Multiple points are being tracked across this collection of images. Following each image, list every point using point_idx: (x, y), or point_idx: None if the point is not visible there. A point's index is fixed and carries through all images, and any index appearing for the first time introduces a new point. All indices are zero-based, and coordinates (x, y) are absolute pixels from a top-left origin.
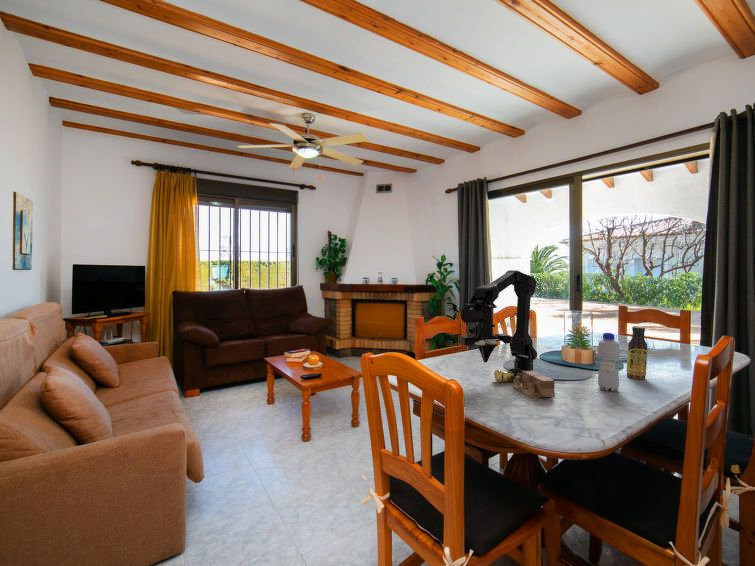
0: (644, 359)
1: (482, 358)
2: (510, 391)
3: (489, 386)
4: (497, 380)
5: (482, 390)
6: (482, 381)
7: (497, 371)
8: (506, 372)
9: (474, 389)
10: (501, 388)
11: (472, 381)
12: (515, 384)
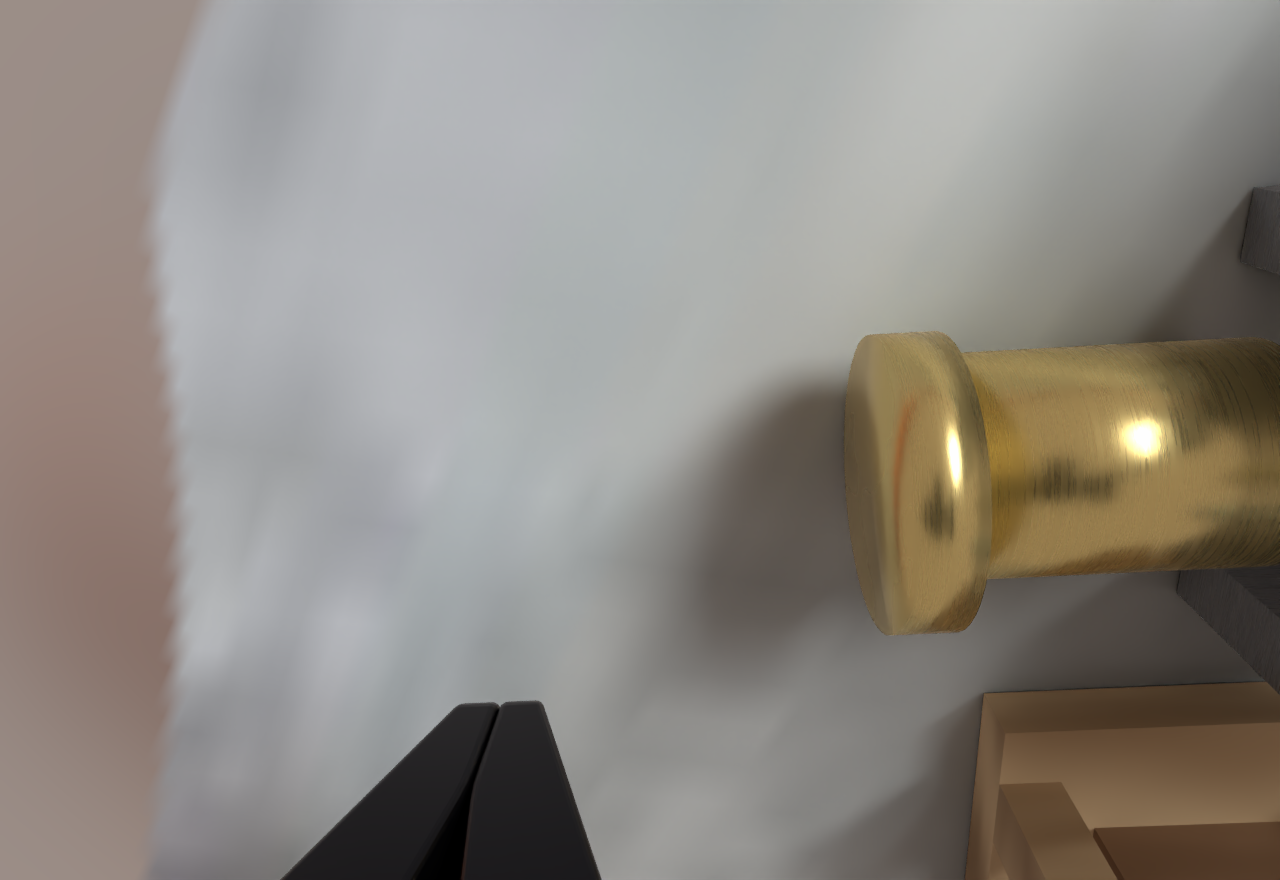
0: None
1: (386, 781)
2: (797, 859)
3: (574, 615)
4: (850, 449)
5: (378, 765)
6: (562, 313)
7: (902, 545)
8: (1137, 539)
9: (258, 708)
10: (733, 731)
11: (342, 277)
12: (998, 791)
